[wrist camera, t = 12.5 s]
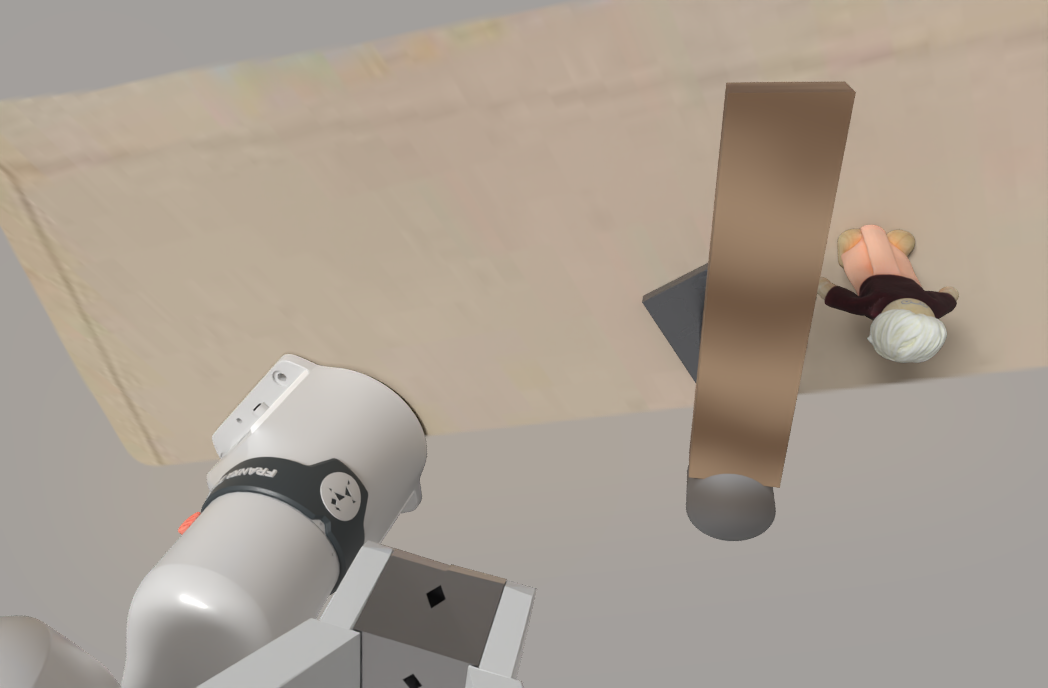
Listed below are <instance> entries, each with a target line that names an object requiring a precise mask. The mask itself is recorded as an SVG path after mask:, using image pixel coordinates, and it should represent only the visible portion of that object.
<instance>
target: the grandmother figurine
mask: <svg viewBox="0 0 1048 688" xmlns="http://www.w3.org/2000/svg"><path fill="white" fill-rule="evenodd" d="M914 245H915V239H914V237H913V236H912V234H910V233H909V232H906V231H903V230H894V231H891V232H889V233H887V234H886V233H885V231H884V229H882V228H881V227H879V226H876V225H865V226H863V227H861V229H850V230H847V231H845V232H844V233H842V234H841V235H840V237H839V239H838V262H839V264H840V266H842V267H843V268H844V271H845V273H846V275H847V277H848V279H849V281H850V282H851V283H852V285H853V286H854V288H855V290H856V292H857V294H858V296H857V295H856V294H855V293H853V292H852V291H850V290H848V289H845V288H842V287H840V286H836V285H835V284H832V283H830V281H829V280H828V279H826V278H824V277H820V280H819V285H818V290H817V294H819V295H820V296H821V298H823V299H824V300H825V304H826V305H828V306H830V307H832V308H836V309H839V310H843V311H846V312H849V313H852V314H856V315H861V316H866V317H868V318H870V319H872V320H873V322H872V324H871V327H870V336H869V337H868V338H867V339H868V340H869V342H870V343H871V344H872V345H873V346H874V349H875V350H876V352H877V353H878V354H879V355H881V356H882V357H883V358H885V359H888V360H892V361H895V362H901V363H907V362H914V363H919V362H924V361H927V360H929V359H930V358H931V357H933V356H934V355H935V354H936V353H937V352H938V351H939V350H940V348H941V347H942V346H943V344H944V342H945V339H946V337H947V331H946V328H945V326H944V324H943V323H942V322H941V321H940V320H938V319H939V318H941V317H943V316H944V315H946V314H947V313H949V312H951V311H952V310H953V309H954V308H955V307H956V304H957V303H956V301H957V299H958V297H959V294H958V291H957V290H956V289H955V288H953V287H944V288H942V289H941V290H940V291H939V292H934V291H924V290H923V288H922V287H921V284H920V282H919V280H918V279H917V277H916V275H915V273H914V271H913V268H912V266H911V263H910V261H909V259H908V258H907V256H908V255H909V254H910V252H911V251H912V250H913V248H914Z"/></svg>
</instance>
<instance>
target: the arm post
mask: <svg viewBox="0 0 1048 688" xmlns="http://www.w3.org/2000/svg"><path fill="white" fill-rule="evenodd" d="M707 271H708V263H707V264H705V265H703V266H701V267H699V268H697V269H695V270H693V271H691V272H689V273H687V274H685V275H684V276H682V277H680V278H678V279H676V280H674V281H672V282H670V283H668V284H666V285H664V286H662V287H660V288H658V289H656V290H654V291H652V292H650V293H648V294H646V295H644V296H643V301H642V303H643V304H644V306H645V307H646V309H647V310H648V312H649V313H650V315H651V316H652V318H653V319H654V321H655V322H656V324H657V325H658V327H659V328H660V330H661V331H662V333H663V334H664V336H665V337H666V339H667V340H668V342H669V343H670V345H671V346H672V348H673V349H674V351H675V352H676V354H677V355H678V357H679V358H680V360H681V361H682V363H683V364H684V366H685V367H686V369H687V370H688V372H689V373H690V375H691V377H692V378H693V380H694V381H695V383H696V381H697V371H698V361H699V351H700V341H701V331H702V321H703V311H704V301H705V291H706V281H707Z"/></svg>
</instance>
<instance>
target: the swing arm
mask: <svg viewBox="0 0 1048 688" xmlns="http://www.w3.org/2000/svg"><path fill="white" fill-rule="evenodd" d="M855 93H856V92H855V91H854V90H853V89H852V88H851V87H850V86H849V85H848V84H847V83H846V82H744V83H726V91H725V101H724V111H723V121H722V131H721V141H720V151H719V161H718V171H717V181H716V191H715V201H714V211H713V221H712V231H711V241H710V251H709V261H708V271H707V281H706V291H705V301H704V311H703V321H702V331H701V341H700V351H699V361H698V371H697V381H696V391H695V401H694V411H693V422H692V431H691V441H690V452H689V454H690V455H689V466H688V470H687V494H686V510H687V514H688V517H689V519H690V521H691V522H692V524H693V525H694V526H695V527H696V528H697V529H699V530H700V531H701V532H703V533H704V534H706V535H708V536H711V537H713V538H716V539H720V540H726V541H741V540H747V539H751V538H754V537H756V536H758V535H760V534H762V533H763V532H765V531H766V530H767V529H768V528H769V527H770V525H771V524H772V522H773V520H774V518H775V512H776V511H775V501H774V493H773V487H778V488H779V487H780V482H781V477H782V472H783V467H784V462H785V457H786V452H787V446H788V441H789V436H790V431H791V425H792V420H793V415H794V410H795V404H796V400H797V394H798V389H799V384H800V379H801V374H802V368H803V363H804V358H805V353H806V348H807V342H808V337H809V332H810V327H811V322H812V316H813V311H814V306H815V301H816V296H817V290H818V285H819V280H820V275H821V270H822V264H823V259H824V254H825V249H826V244H827V238H828V233H829V228H830V223H831V218H832V212H833V207H834V202H835V197H836V192H837V186H838V181H839V176H840V171H841V166H842V160H843V155H844V150H845V145H846V140H847V134H848V129H849V124H850V119H851V114H852V108H853V103H854V98H855Z"/></svg>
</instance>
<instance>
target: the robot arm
mask: <svg viewBox="0 0 1048 688" xmlns="http://www.w3.org/2000/svg"><path fill="white" fill-rule="evenodd" d="M283 374H284V375H285V376H286V377H285V376H284V375H283ZM212 441H213V444H214V447H215V449H216V451H217V453H218V455H219V457H220V460H219V462H218V463H217V464H216V465H215V466H214V467H213V468H212V469H211V470H210V471H209V473H208V474H207V484H208V487H209V490H210V493H209V494H208V496H207V498H206V501H205V503H204V505H203V507H202V510H201V513H200V512H197V513H195V514H193V515H192V516H190V517H189V518H188V519H187V520H186V521H185V522H184V523H183V524H182V525H181V526H180V528H179V530H178V531H179V533H180V534H182V536H181V537H180V538H179V539H178V540H177V541H176V542H175V544H174V545H173V546H172V547H171V548H170V549H169V551H167V553H166V554H165V555H164V556H163V557H162V558H161V559H160V561H159V562H158V563H157V564H156V565H155V566H154V567H153V569H152V570H151V571H150V572H149V573H148V574H147V575H146V576H145V578H144V579H143V580H142V582H141V583H140V585H139V587H138V589H137V591H136V592H135V595H134V597H133V600H132V602H131V605H130V609H129V614H128V620H127V653H126V664H125V669H124V674H123V679H122V682H121V686H120V684H119V683H118V682H117V680H116V679H115V678H114V676H113V675H112V674H111V673H110V671H109V670H108V669H107V668H106V667H105V666H104V665H103V664H101V663H100V662H99V661H97V660H96V659H95V658H93V657H92V656H91V655H89V654H88V653H87V652H85V651H84V650H83V649H81V648H80V647H79V646H77V645H76V644H75V643H73V642H72V641H70V640H69V639H68V638H66V637H64V636H63V635H61V634H60V633H58V632H57V631H55V630H54V629H53V628H51V627H50V626H48V625H47V624H45V623H44V622H42V621H40V620H38V619H36V618H32V617H29V616H17V615H16V616H3V617H0V688H524V686H523V683H522V681H520V680H517V679H516V678H517V674H518V670H519V666H520V662H521V658H522V653H523V649H524V644H525V640H526V635H527V631H528V626H529V622H530V617H531V613H532V608H533V603H534V599H535V594H536V588H533V587H530V586H526V585H523V584H519V583H515V582H512V581H508V580H507V579H504V578H500V577H496V576H493V575H489V574H485V573H481V572H477V571H474V570H470V569H466V568H463V567H459V566H455V565H447V564H444V563H441V562H437V561H434V560H431V559H428V558H425V557H421V556H418V555H415V554H412V553H408V552H405V551H402V550H399V549H396V548H392V547H389V546H385V545H382V544H380V543H381V542H382V540H383V539H384V537H385V536H386V534H387V533H388V531H389V530H390V528H391V527H392V525H393V524H394V522H395V521H396V519H397V518H398V516H399V515H400V513H405V512H410V511H413V510H415V509H416V508H417V506H418V505H419V504H420V502H421V499H422V494H421V486H420V476H421V473H422V471H423V468H424V466H425V462H426V457H427V445H426V439H425V435H424V432H423V429H422V427H421V425H420V423H419V421H418V419H417V417H416V416H415V414H414V413H413V411H412V410H411V409H410V407H409V406H408V405H407V404H406V403H405V402H404V401H403V400H402V399H401V398H400V397H399V396H398V395H397V394H396V393H395V392H393V391H392V390H391V389H390V388H388V387H387V386H385V385H384V384H382V383H381V382H379V381H377V380H375V379H373V378H371V377H369V376H367V375H365V374H362V373H359V372H356V371H353V370H348V369H343V368H335V367H326V366H320V365H317V364H315V363H313V362H310V361H308V360H306V359H304V358H301V357H299V356H296V355H293V354H285V355H283V356H282V357H281V358H280V359H279V360H278V361H277V362H276V363H275V365H274V366H273V367H272V368H271V369H270V370H269V371H268V372H267V374H266V375H265V376H264V377H263V378H262V379H261V380H260V381H259V383H258V384H257V385H256V386H255V387H254V388H253V389H252V390H251V392H250V393H249V394H248V395H247V396H246V397H245V398H244V399H243V401H242V402H241V403H240V404H239V405H238V406H237V407H236V408H235V409H234V411H233V412H232V413H231V414H230V415H229V416H228V417H227V418H226V420H225V421H224V422H223V423H222V424H221V425H220V426H219V428H218V429H217V430H216V431H215V433H214V434H213V436H212ZM335 591H336V592H335ZM334 592H335V594H334V596H333V597H332V599H331V601H330V603H329V604H328V606H327V608H326V609H325V611H324V613H323V615H322V616H321V618H320V620H318V619H316V618H317V616H318V614H319V612H320V610H321V609H322V607H323V605H324V604H325V602H326V600H327V598H328V596H329V595H331V594H333V593H334Z"/></svg>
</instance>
